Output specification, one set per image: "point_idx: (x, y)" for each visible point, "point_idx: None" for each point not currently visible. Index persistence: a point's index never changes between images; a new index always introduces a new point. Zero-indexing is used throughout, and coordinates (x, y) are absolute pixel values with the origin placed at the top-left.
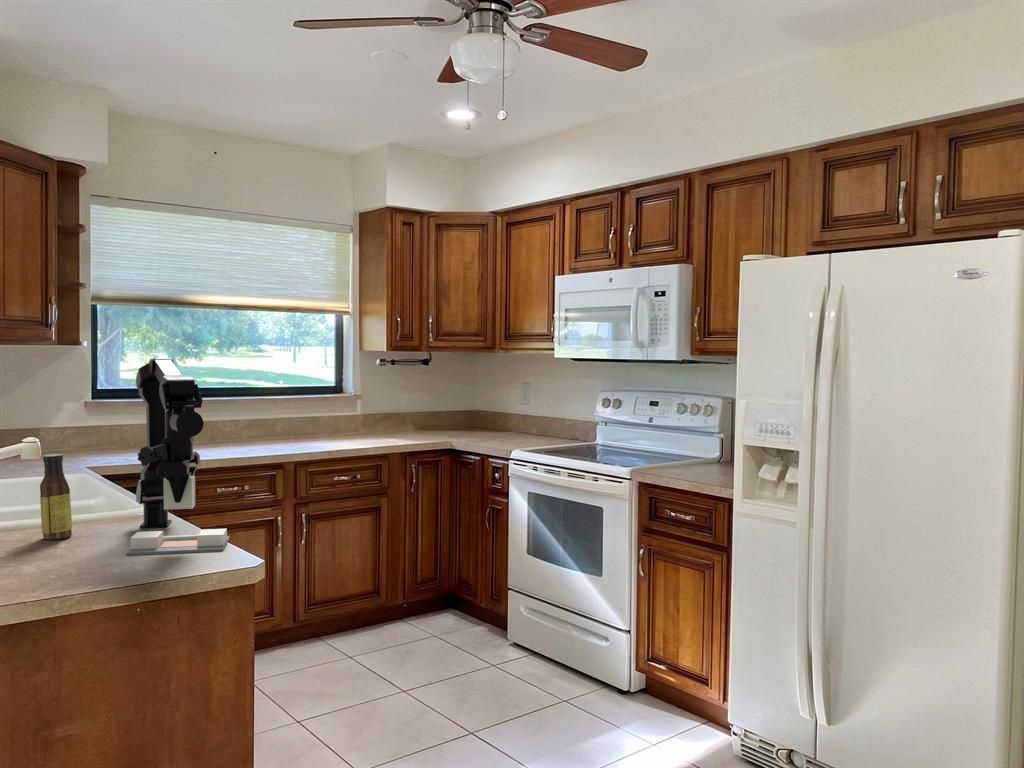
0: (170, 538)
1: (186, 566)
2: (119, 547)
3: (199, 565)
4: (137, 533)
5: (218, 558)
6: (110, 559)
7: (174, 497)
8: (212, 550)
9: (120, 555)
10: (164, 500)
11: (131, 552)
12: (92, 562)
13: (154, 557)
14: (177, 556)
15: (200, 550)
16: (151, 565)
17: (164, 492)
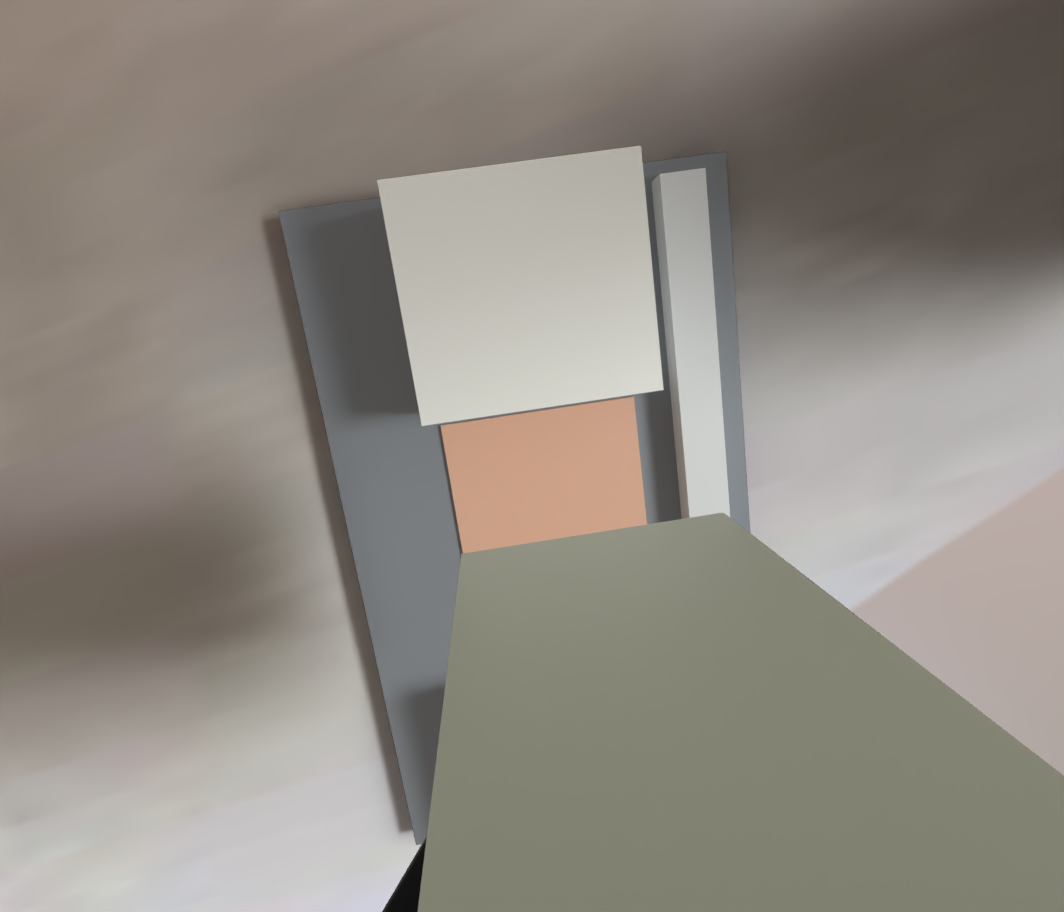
0: (678, 427)
1: (27, 741)
2: (553, 47)
3: (61, 806)
4: (574, 176)
5: (241, 857)
6: (161, 128)
7: (417, 860)
8: (404, 782)
9: (290, 163)
10: (457, 631)
11: (287, 252)
12: (52, 4)
13: (243, 454)
14: (279, 601)
15: (391, 717)
16: (22, 513)
17: (445, 738)
